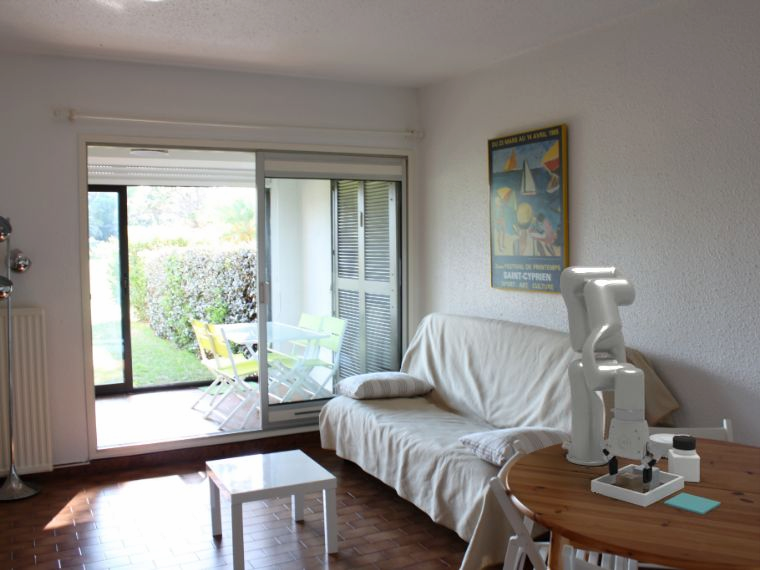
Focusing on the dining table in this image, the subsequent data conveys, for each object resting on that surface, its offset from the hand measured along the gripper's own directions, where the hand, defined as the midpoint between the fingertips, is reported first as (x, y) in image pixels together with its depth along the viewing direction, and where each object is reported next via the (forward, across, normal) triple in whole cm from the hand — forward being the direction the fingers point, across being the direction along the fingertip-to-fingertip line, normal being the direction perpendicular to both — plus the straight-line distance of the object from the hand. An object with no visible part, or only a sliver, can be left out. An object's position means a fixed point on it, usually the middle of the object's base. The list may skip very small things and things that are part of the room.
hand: (630, 478), depth 190 cm
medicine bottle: (+4, +3, +23) cm, 24 cm away
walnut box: (+4, -1, 0) cm, 5 cm away
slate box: (+4, -1, +9) cm, 10 cm away
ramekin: (+4, -11, +41) cm, 42 cm away
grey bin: (+4, -1, +5) cm, 7 cm away
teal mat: (+5, +14, +5) cm, 16 cm away
